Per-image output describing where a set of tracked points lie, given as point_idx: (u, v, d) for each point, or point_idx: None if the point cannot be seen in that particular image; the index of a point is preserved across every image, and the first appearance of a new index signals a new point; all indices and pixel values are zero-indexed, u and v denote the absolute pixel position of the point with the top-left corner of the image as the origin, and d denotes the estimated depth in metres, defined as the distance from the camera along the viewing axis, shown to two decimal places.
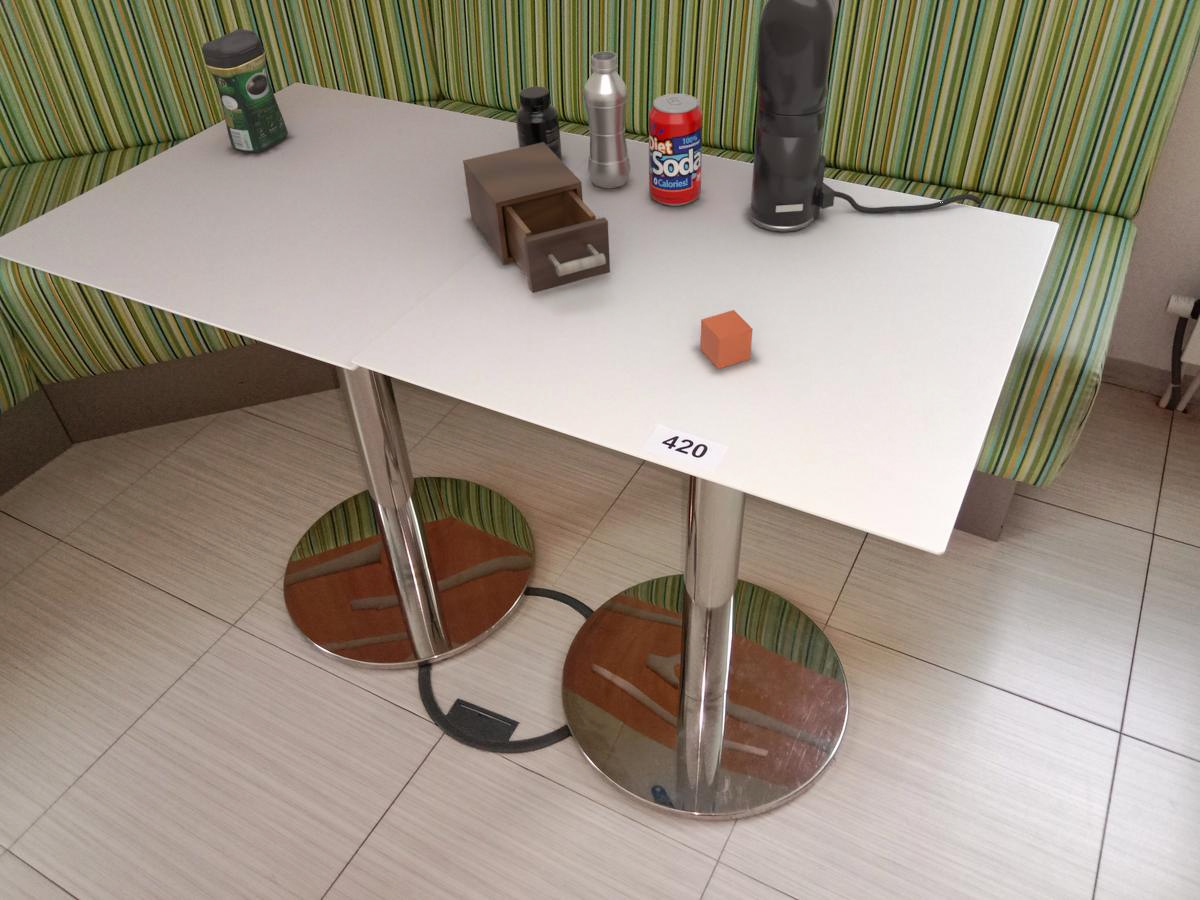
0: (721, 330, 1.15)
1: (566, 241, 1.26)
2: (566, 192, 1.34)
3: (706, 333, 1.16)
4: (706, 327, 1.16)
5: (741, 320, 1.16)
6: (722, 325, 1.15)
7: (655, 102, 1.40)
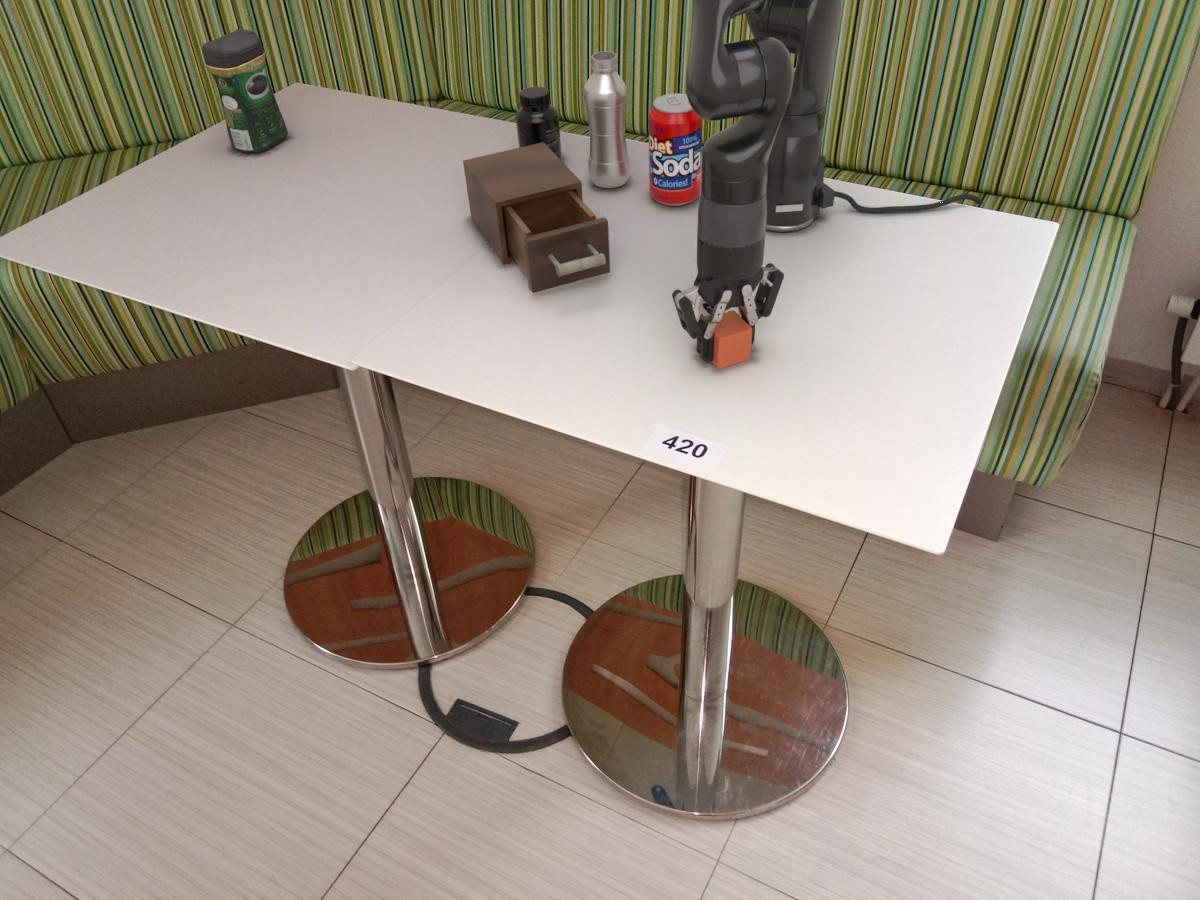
0: (721, 330, 1.15)
1: (566, 241, 1.26)
2: (566, 192, 1.34)
3: None
4: None
5: (741, 320, 1.16)
6: (722, 325, 1.15)
7: (655, 102, 1.40)
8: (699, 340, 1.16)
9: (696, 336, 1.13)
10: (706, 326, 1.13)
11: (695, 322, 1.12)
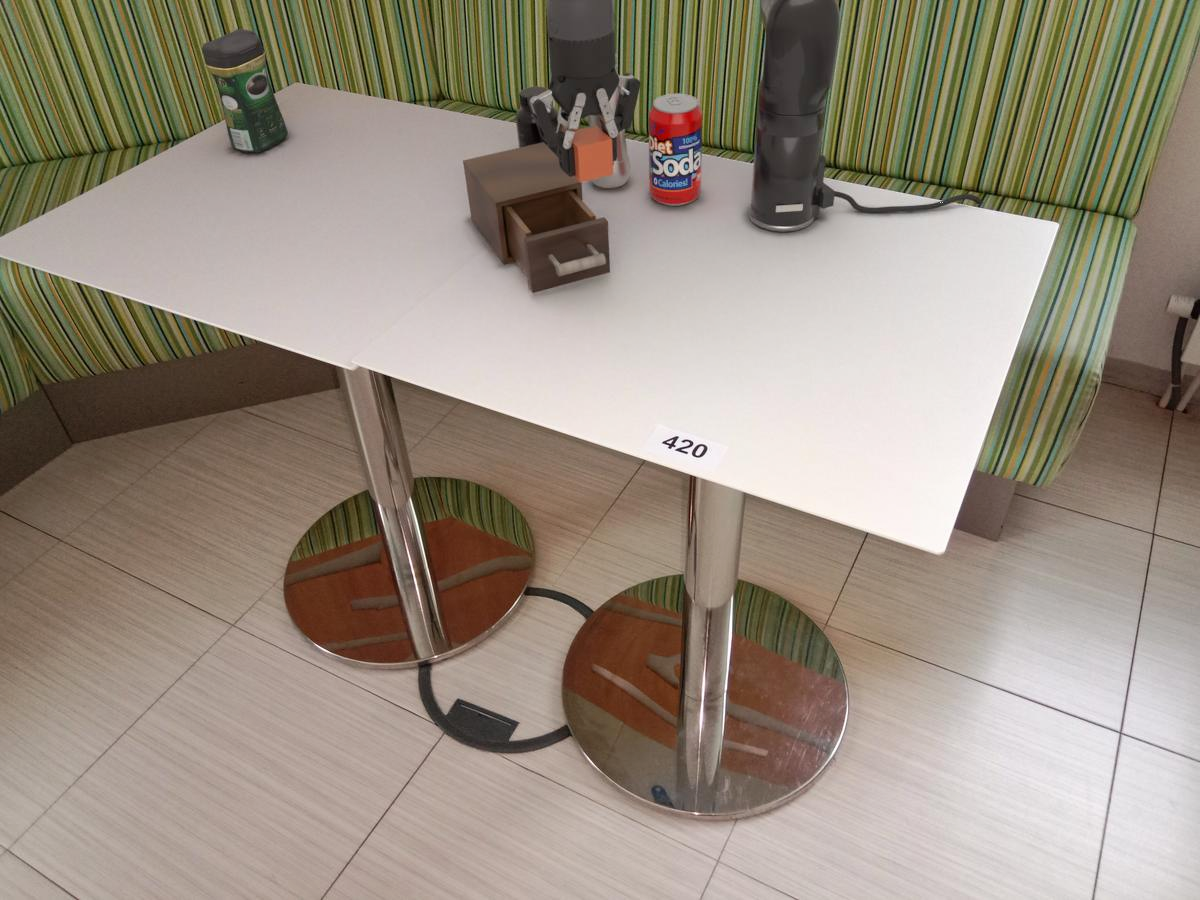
0: (580, 141, 1.15)
1: (566, 241, 1.26)
2: (566, 192, 1.34)
3: None
4: None
5: (602, 133, 1.17)
6: (582, 137, 1.16)
7: (655, 102, 1.40)
8: (560, 152, 1.17)
9: (554, 144, 1.14)
10: (564, 134, 1.14)
11: (551, 128, 1.13)
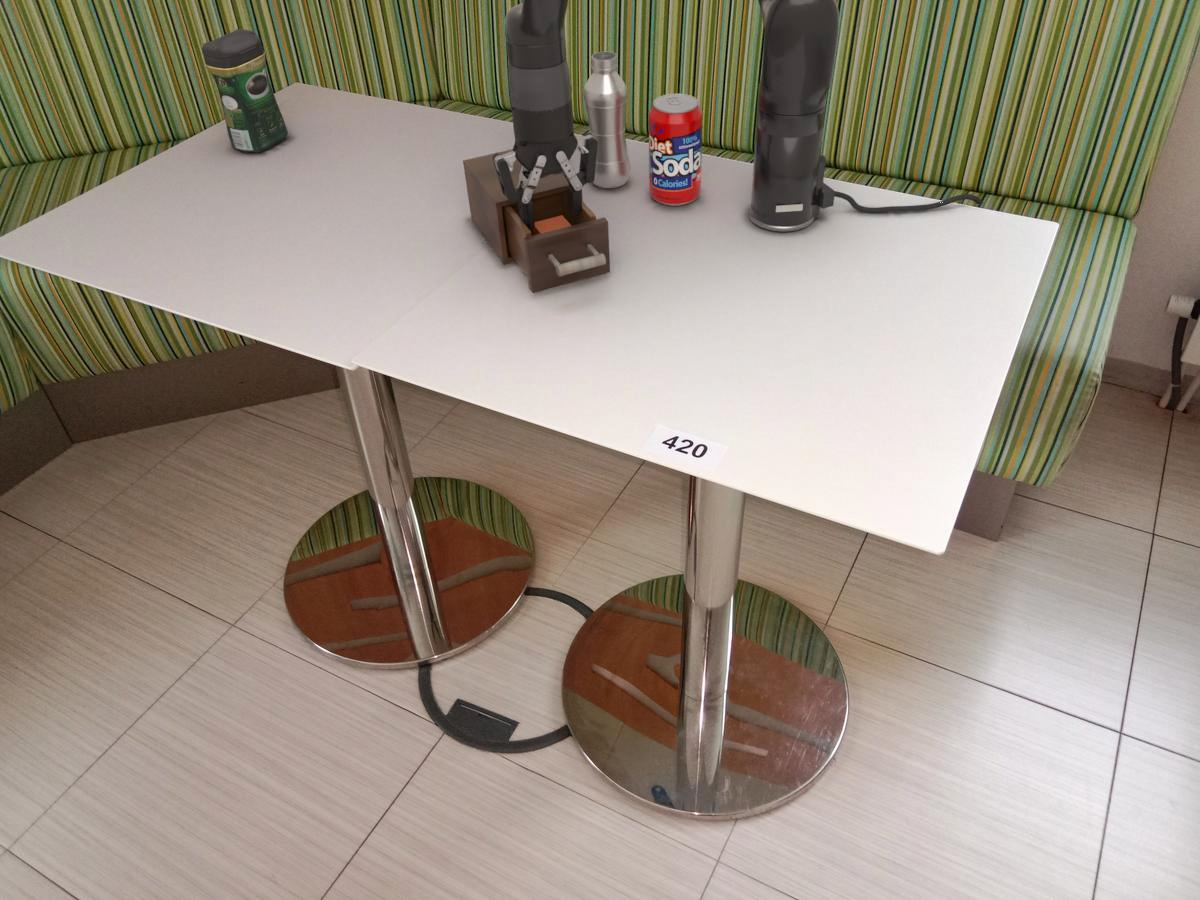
0: (547, 231, 1.30)
1: (566, 241, 1.26)
2: (566, 192, 1.34)
3: None
4: (535, 229, 1.31)
5: (566, 223, 1.31)
6: (549, 226, 1.31)
7: (655, 102, 1.40)
8: (520, 206, 1.27)
9: (513, 200, 1.25)
10: (522, 191, 1.25)
11: (512, 185, 1.24)
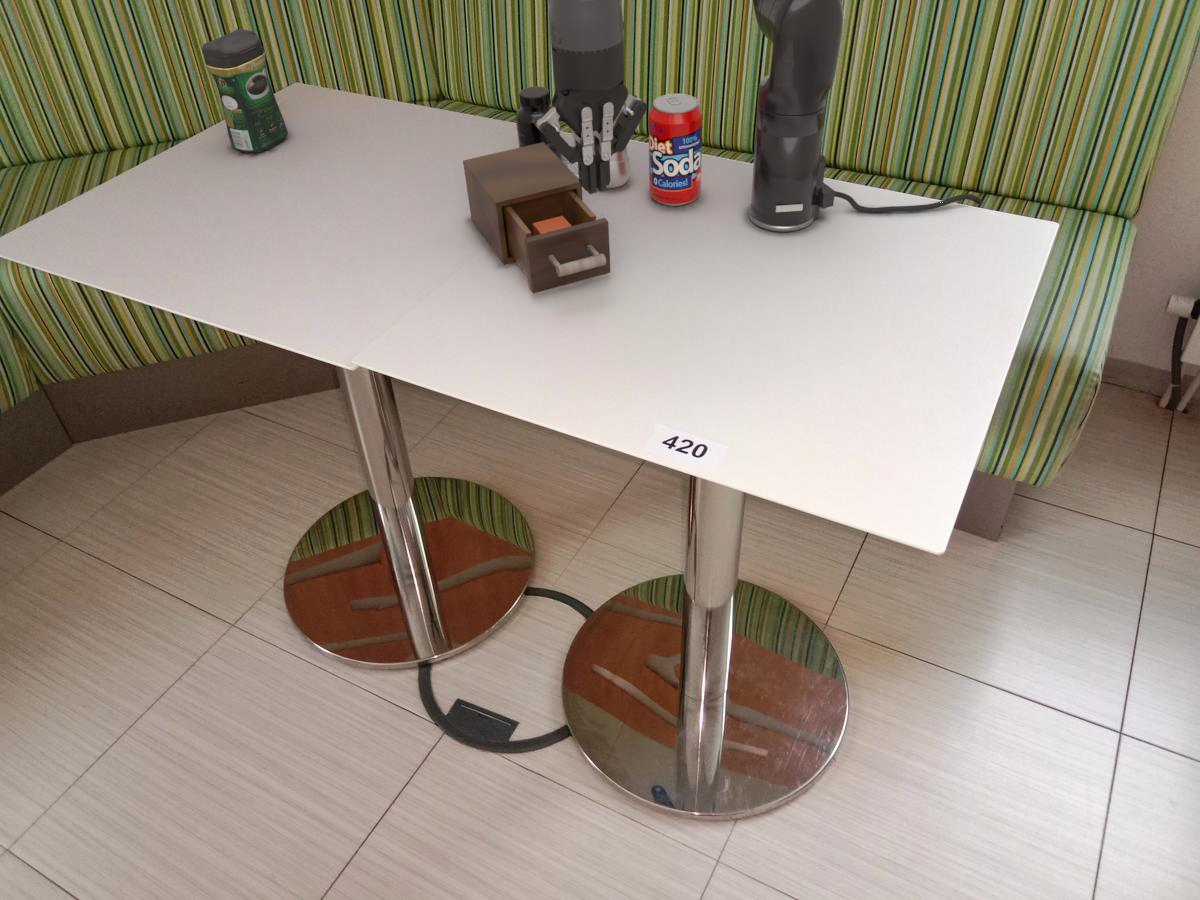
0: (547, 231, 1.30)
1: (567, 241, 1.26)
2: (566, 192, 1.34)
3: None
4: (536, 229, 1.31)
5: (567, 223, 1.31)
6: (549, 227, 1.31)
7: (655, 102, 1.40)
8: (580, 168, 1.09)
9: (575, 159, 1.07)
10: None
11: (567, 145, 1.05)
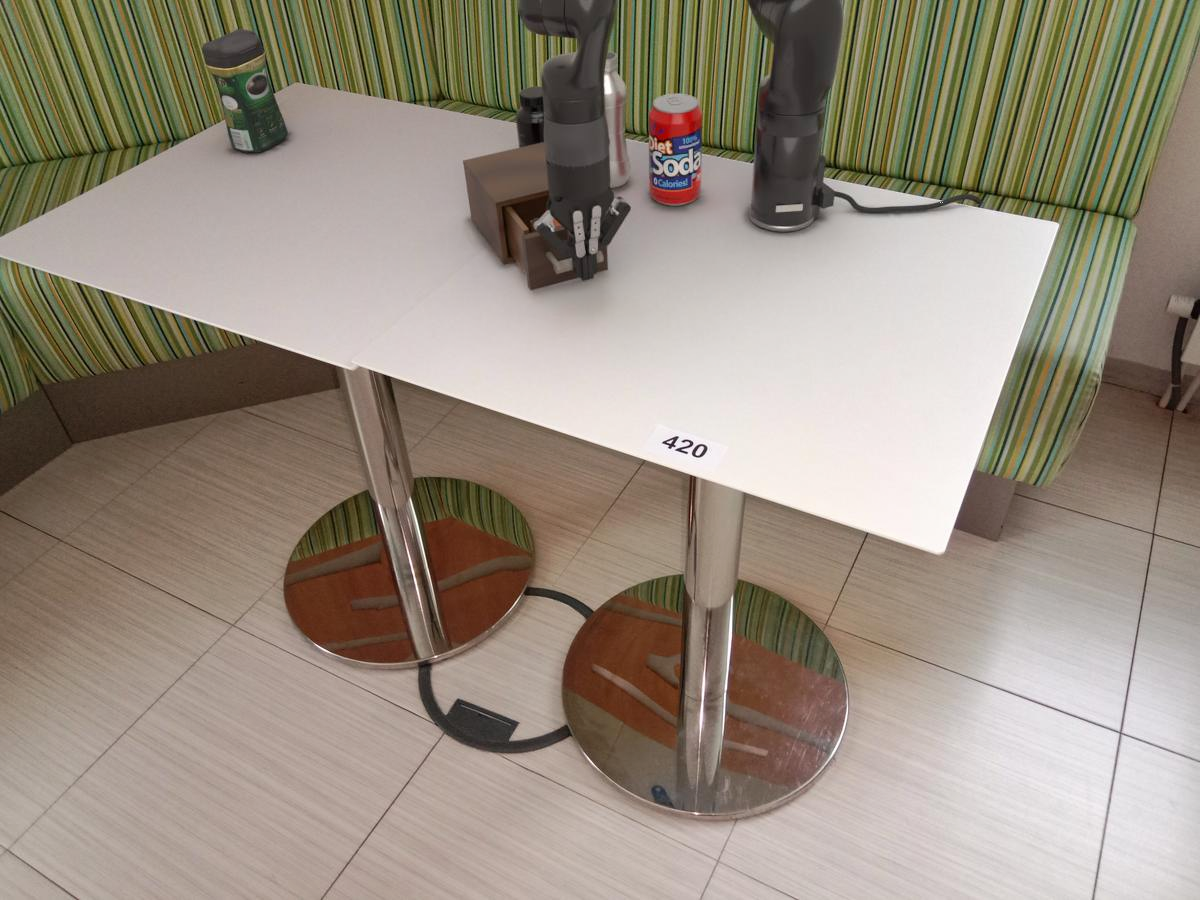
0: None
1: (564, 238, 1.27)
2: None
3: None
4: None
5: None
6: None
7: (655, 102, 1.40)
8: (574, 259, 1.23)
9: (569, 253, 1.20)
10: (578, 244, 1.20)
11: (561, 242, 1.19)
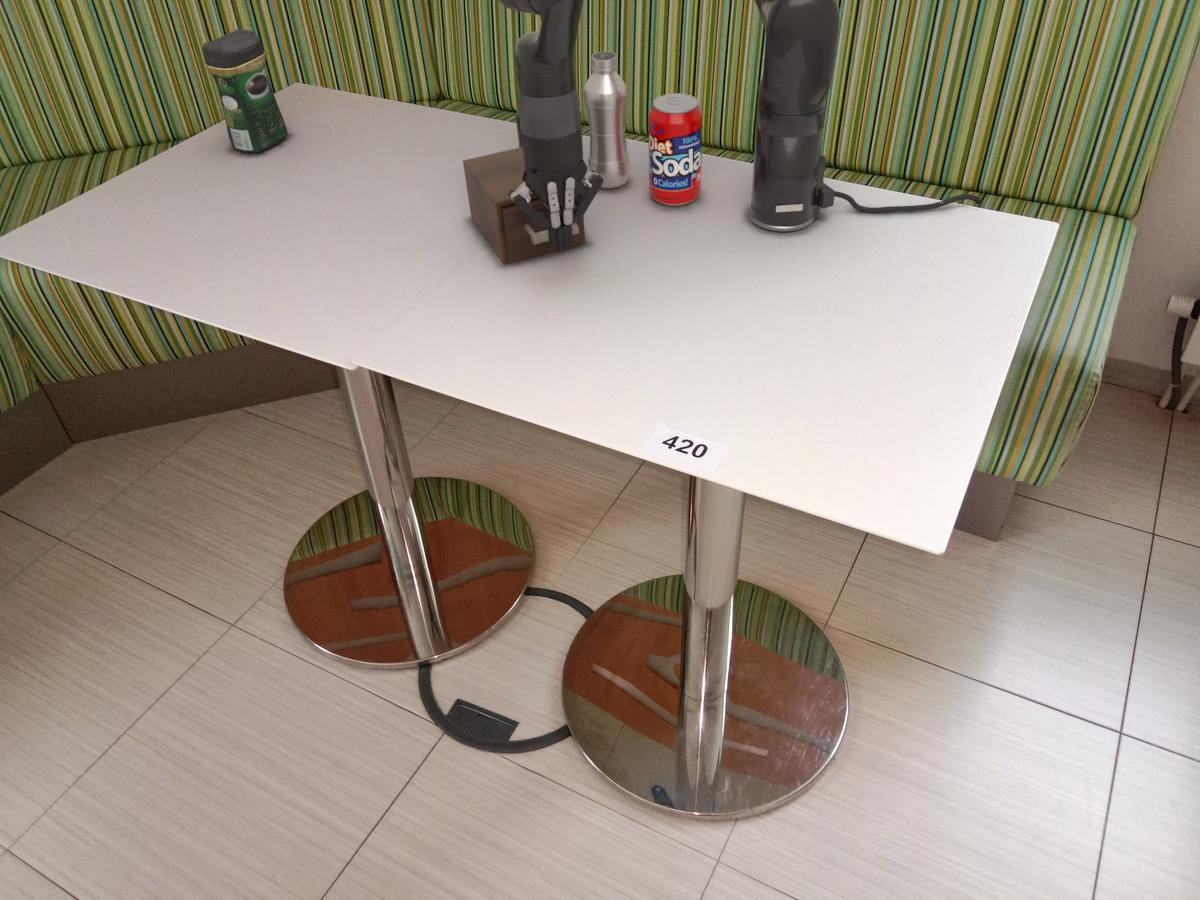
0: None
1: (541, 211, 1.32)
2: None
3: None
4: None
5: None
6: None
7: (655, 102, 1.40)
8: (550, 230, 1.28)
9: (544, 224, 1.26)
10: None
11: (537, 213, 1.24)
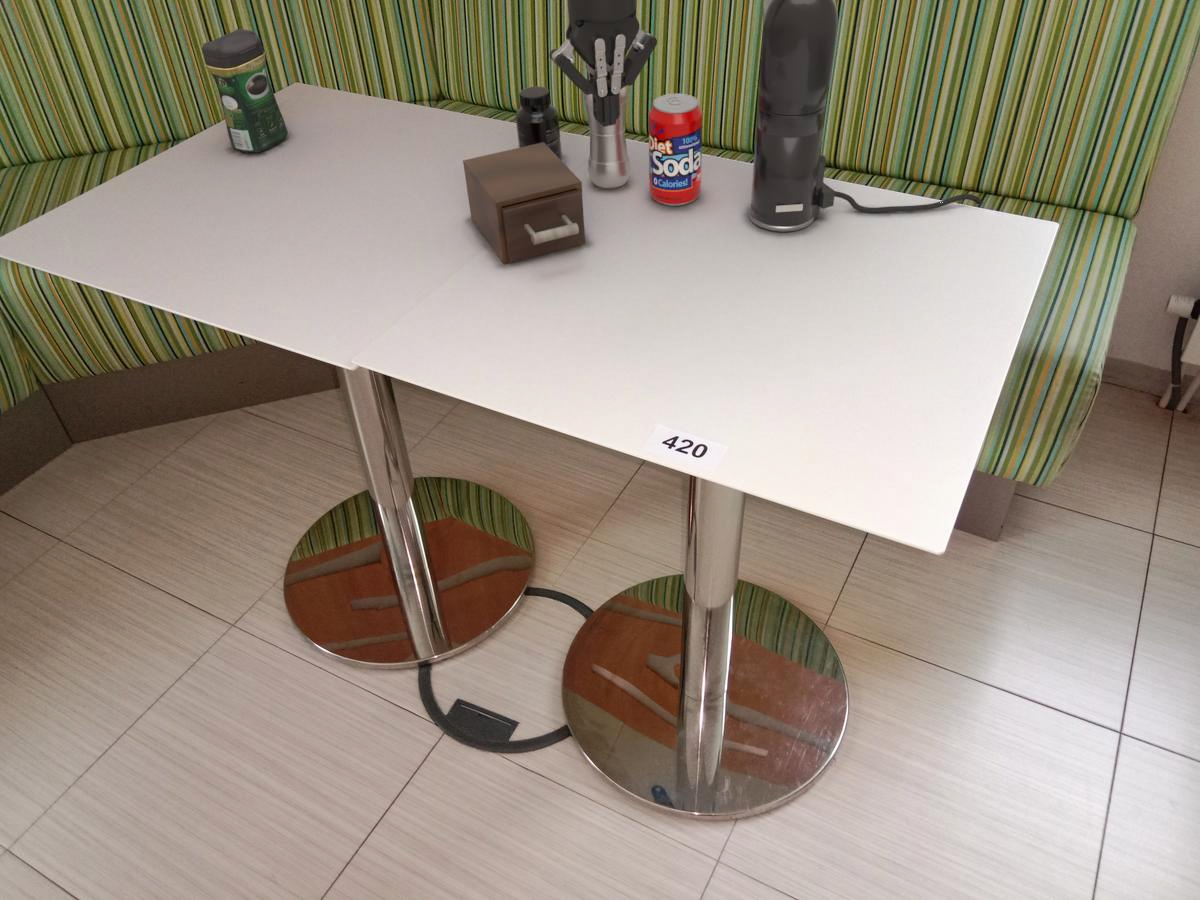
0: None
1: (541, 211, 1.32)
2: None
3: None
4: None
5: None
6: None
7: (655, 102, 1.40)
8: (594, 101, 1.13)
9: (590, 91, 1.11)
10: (599, 81, 1.11)
11: (582, 77, 1.09)
